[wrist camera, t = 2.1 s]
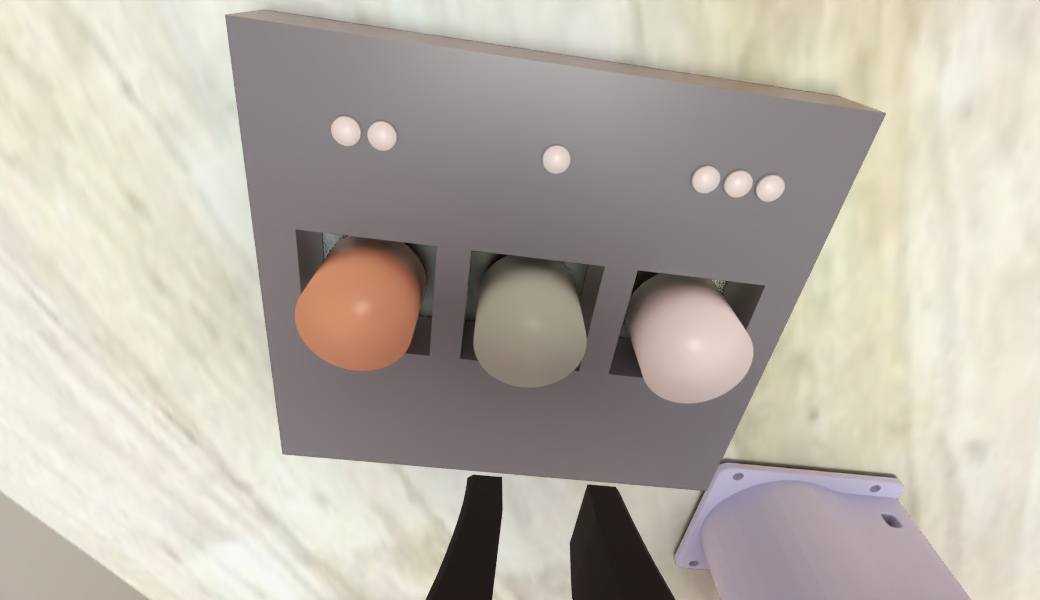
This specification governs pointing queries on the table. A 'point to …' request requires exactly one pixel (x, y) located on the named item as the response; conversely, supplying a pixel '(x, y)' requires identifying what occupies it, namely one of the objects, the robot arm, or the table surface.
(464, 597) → the robot arm
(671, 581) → the table surface
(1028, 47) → the table surface
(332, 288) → the button terracotta
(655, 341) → the button white
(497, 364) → the button green
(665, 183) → the button panel
